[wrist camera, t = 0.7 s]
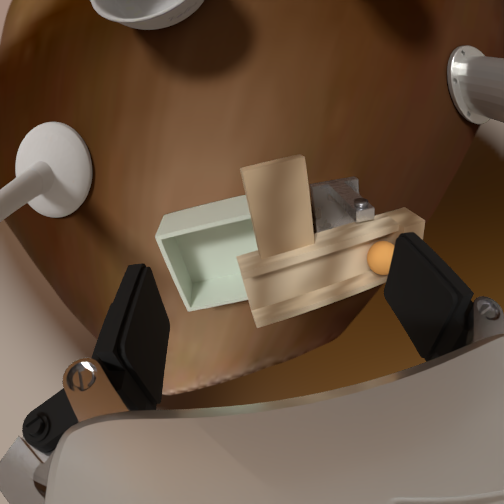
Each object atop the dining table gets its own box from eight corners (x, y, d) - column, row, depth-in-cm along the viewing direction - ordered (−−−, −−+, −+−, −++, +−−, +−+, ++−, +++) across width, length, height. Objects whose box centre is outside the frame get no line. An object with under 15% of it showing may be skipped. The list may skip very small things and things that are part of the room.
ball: (384, 230, 27) (407, 245, 25) (382, 257, 29) (403, 273, 26) (360, 241, 27) (383, 258, 24) (359, 269, 29) (380, 286, 26)
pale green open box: (269, 189, 33) (277, 207, 28) (282, 264, 39) (290, 290, 34) (163, 214, 33) (154, 236, 28) (190, 284, 39) (187, 311, 34)
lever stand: (354, 172, 32) (391, 199, 25) (356, 248, 38) (384, 287, 31) (309, 180, 32) (336, 210, 25) (317, 257, 38) (338, 300, 31)
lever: (405, 136, 23) (429, 143, 20) (399, 259, 31) (416, 275, 28) (213, 173, 21) (218, 185, 18) (251, 310, 29) (259, 334, 27)
